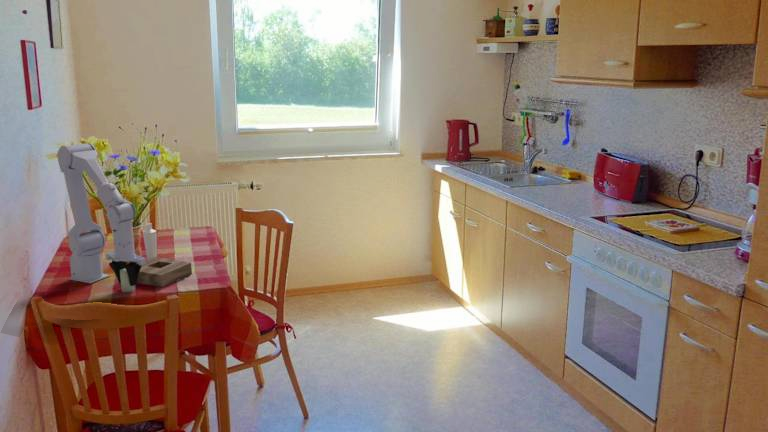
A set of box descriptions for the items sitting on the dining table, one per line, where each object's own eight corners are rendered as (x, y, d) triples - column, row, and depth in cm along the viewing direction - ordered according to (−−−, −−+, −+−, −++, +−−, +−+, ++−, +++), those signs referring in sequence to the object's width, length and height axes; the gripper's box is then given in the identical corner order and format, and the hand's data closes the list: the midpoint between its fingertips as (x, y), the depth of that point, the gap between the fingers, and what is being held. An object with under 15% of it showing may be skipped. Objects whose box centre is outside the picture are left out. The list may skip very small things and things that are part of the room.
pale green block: (118, 290, 198) (116, 271, 197) (128, 286, 202) (126, 267, 200) (128, 292, 197) (126, 272, 195) (138, 288, 200) (136, 268, 199)
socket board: (123, 280, 208) (122, 268, 207) (154, 267, 220) (153, 256, 219) (162, 287, 201) (161, 275, 200) (191, 273, 214) (191, 262, 213)
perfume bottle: (160, 263, 225) (157, 221, 222) (157, 267, 221) (153, 225, 217) (147, 263, 225) (144, 222, 221) (143, 267, 221) (139, 225, 217)
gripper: (95, 242, 195) (100, 284, 198) (132, 248, 189) (136, 291, 192) (113, 236, 201) (118, 277, 204) (149, 242, 195) (153, 284, 199)
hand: (128, 283), depth 199 cm, fingers closed on pale green block, 4 cm apart
